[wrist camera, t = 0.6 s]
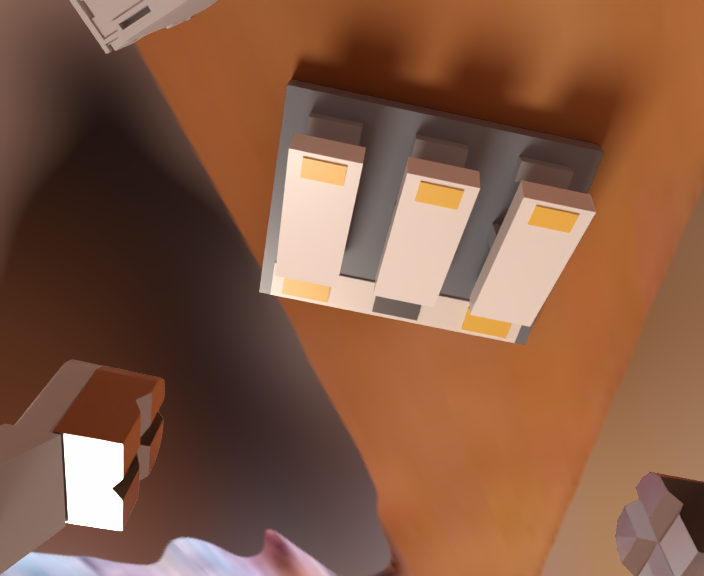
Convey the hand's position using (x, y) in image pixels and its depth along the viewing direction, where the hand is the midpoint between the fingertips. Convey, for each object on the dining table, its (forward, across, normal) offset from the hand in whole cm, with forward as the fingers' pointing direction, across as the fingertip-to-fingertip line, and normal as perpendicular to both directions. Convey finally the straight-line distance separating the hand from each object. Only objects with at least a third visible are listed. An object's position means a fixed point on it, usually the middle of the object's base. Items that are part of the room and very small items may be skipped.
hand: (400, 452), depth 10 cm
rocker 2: (+35, -4, +11) cm, 37 cm away
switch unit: (+41, -4, +12) cm, 43 cm away
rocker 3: (+35, -12, +11) cm, 38 cm away
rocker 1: (+35, +4, +11) cm, 36 cm away
